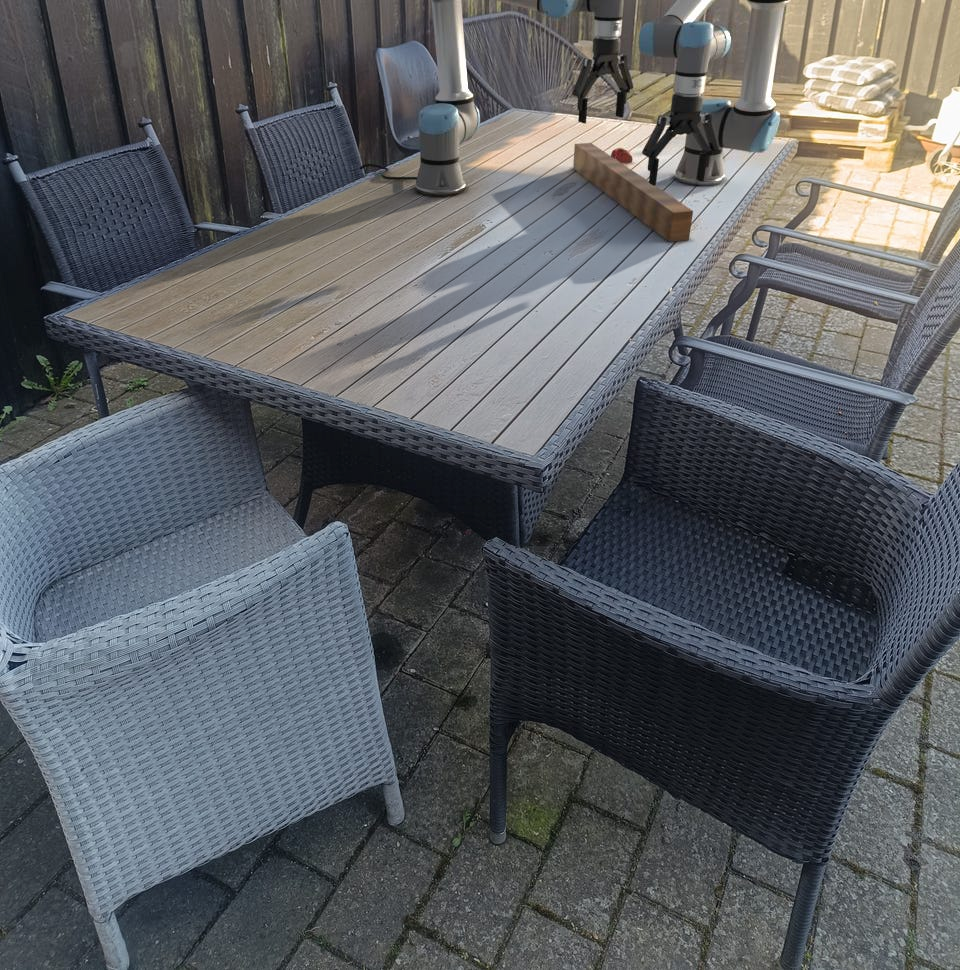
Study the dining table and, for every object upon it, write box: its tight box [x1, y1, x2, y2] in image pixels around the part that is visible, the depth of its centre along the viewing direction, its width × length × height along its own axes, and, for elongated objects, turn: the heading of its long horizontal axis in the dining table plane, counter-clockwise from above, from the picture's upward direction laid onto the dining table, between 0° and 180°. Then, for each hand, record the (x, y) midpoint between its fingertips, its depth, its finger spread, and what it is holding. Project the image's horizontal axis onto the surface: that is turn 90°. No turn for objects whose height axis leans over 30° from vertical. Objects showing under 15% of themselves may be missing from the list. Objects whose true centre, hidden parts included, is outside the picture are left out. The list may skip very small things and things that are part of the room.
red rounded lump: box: [610, 147, 633, 164], centre depth 283 cm, size 6×4×8 cm
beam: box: [572, 142, 694, 243], centre depth 248 cm, size 73×6×8 cm, turn 15°
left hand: (600, 119), depth 244 cm, fingers open, 13 cm apart
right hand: (676, 182), depth 219 cm, fingers open, 13 cm apart
